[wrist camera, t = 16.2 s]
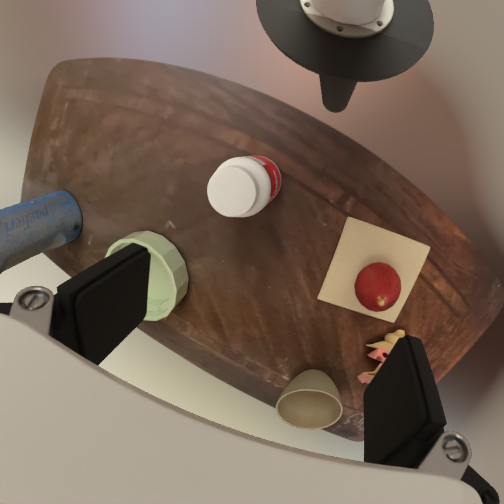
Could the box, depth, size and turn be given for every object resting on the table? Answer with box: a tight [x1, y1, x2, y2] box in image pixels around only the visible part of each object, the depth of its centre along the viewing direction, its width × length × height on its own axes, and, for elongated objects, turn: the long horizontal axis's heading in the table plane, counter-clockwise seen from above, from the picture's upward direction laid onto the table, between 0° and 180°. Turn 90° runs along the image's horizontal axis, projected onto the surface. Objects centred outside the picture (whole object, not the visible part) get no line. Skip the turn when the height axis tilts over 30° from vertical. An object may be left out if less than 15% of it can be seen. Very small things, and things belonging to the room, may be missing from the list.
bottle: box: [0, 190, 82, 274], centre depth 33 cm, size 10×10×30 cm
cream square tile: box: [317, 216, 430, 323], centre depth 37 cm, size 12×12×1 cm
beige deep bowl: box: [276, 369, 343, 430], centre depth 42 cm, size 10×10×7 cm
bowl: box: [105, 231, 189, 321], centre depth 43 cm, size 13×13×4 cm
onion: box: [354, 262, 401, 312], centre depth 33 cm, size 6×6×8 cm
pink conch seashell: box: [358, 330, 405, 384], centre depth 37 cm, size 9×10×10 cm
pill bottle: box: [207, 155, 281, 217], centre depth 32 cm, size 6×6×11 cm
